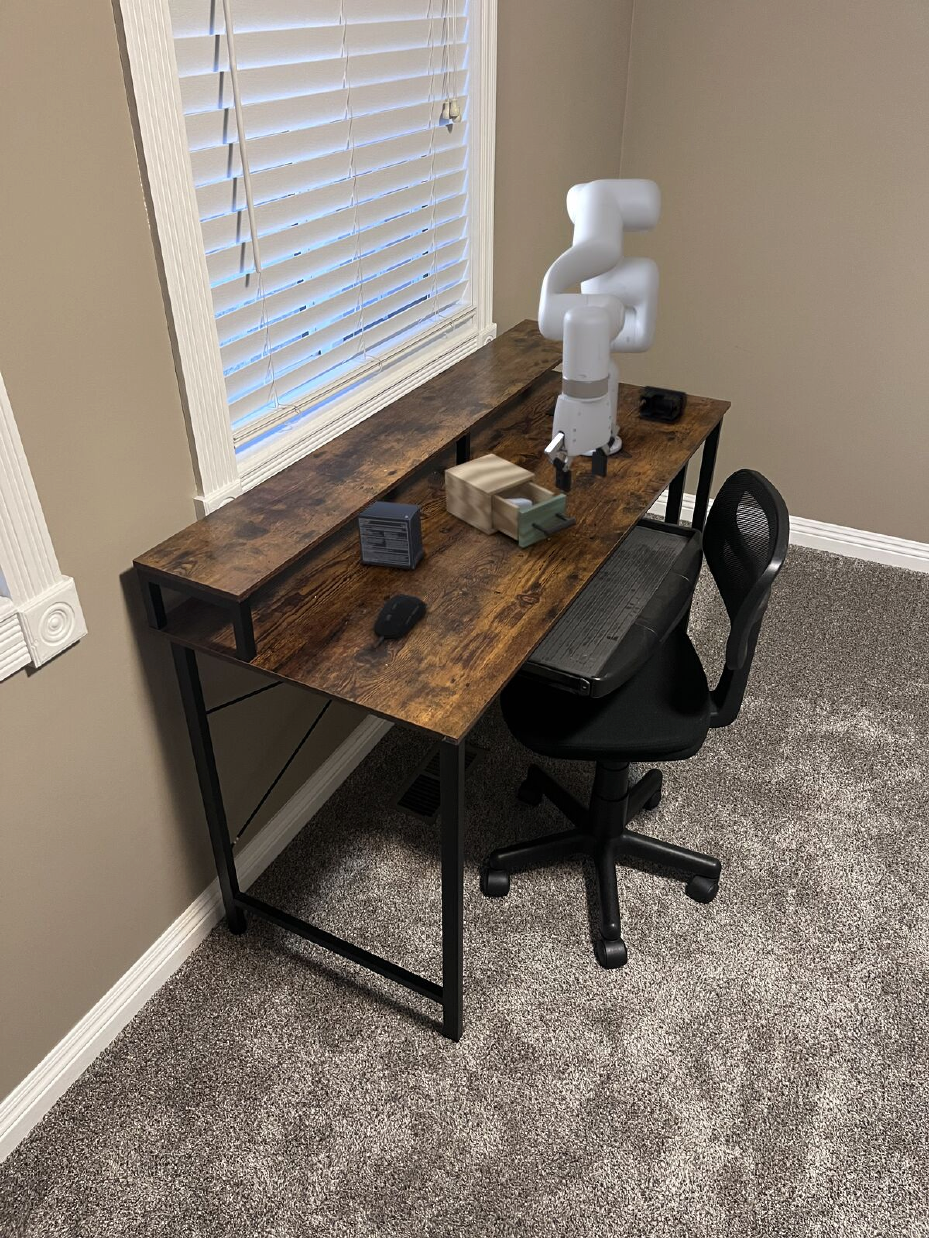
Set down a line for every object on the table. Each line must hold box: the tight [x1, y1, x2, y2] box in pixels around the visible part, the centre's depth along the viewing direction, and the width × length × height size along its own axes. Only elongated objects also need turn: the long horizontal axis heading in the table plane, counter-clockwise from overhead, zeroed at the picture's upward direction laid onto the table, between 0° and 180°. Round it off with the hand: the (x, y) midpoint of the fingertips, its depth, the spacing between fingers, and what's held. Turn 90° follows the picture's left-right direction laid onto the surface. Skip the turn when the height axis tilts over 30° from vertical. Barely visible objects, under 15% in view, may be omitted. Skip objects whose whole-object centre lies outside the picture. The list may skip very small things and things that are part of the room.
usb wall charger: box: [505, 498, 532, 511], centre depth 179 cm, size 4×7×4 cm, turn 125°
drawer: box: [491, 481, 577, 548], centre depth 177 cm, size 17×11×7 cm, turn 38°
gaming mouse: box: [373, 593, 427, 650], centre depth 154 cm, size 6×15×4 cm, turn 155°
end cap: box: [638, 385, 688, 425], centre depth 225 cm, size 10×7×7 cm
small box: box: [356, 500, 424, 570], centre depth 171 cm, size 11×6×10 cm, turn 74°
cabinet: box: [444, 453, 536, 536], centre depth 185 cm, size 14×12×9 cm
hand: (581, 481), depth 162 cm, fingers open, 8 cm apart
